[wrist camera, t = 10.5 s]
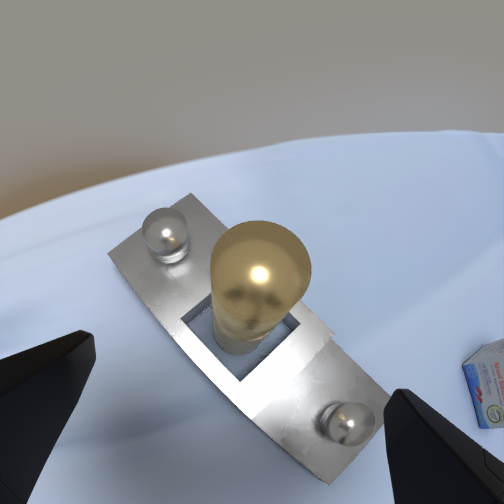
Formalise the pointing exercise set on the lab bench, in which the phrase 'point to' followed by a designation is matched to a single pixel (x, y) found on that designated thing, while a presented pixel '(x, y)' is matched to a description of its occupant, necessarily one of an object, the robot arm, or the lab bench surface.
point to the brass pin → (255, 282)
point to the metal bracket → (274, 364)
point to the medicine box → (487, 384)
